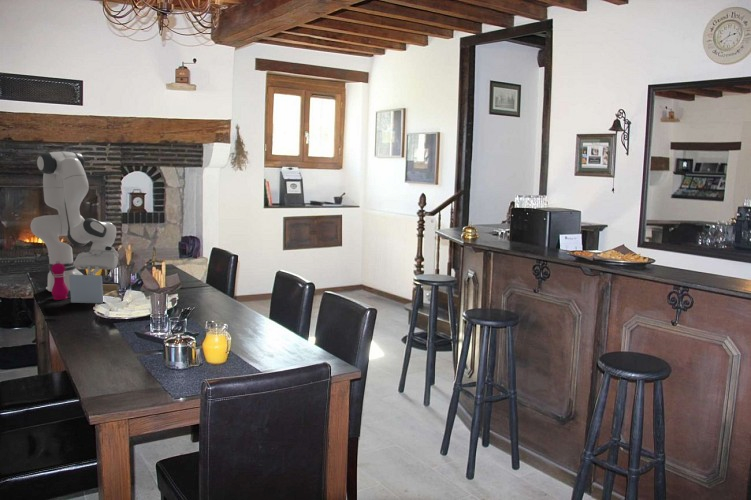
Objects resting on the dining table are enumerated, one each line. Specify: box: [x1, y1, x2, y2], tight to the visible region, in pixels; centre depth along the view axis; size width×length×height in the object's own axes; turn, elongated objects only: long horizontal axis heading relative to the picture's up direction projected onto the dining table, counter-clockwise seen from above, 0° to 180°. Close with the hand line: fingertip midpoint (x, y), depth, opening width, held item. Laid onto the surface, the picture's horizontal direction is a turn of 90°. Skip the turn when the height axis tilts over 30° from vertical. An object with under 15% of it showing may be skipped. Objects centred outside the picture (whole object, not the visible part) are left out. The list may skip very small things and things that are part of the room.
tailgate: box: [69, 274, 104, 304], centre depth 306 cm, size 1×16×14 cm, turn 84°
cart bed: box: [103, 283, 119, 298], centre depth 315 cm, size 14×15×7 cm
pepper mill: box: [51, 260, 69, 301], centre depth 315 cm, size 7×7×20 cm
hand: (90, 275), depth 309 cm, fingers closed
